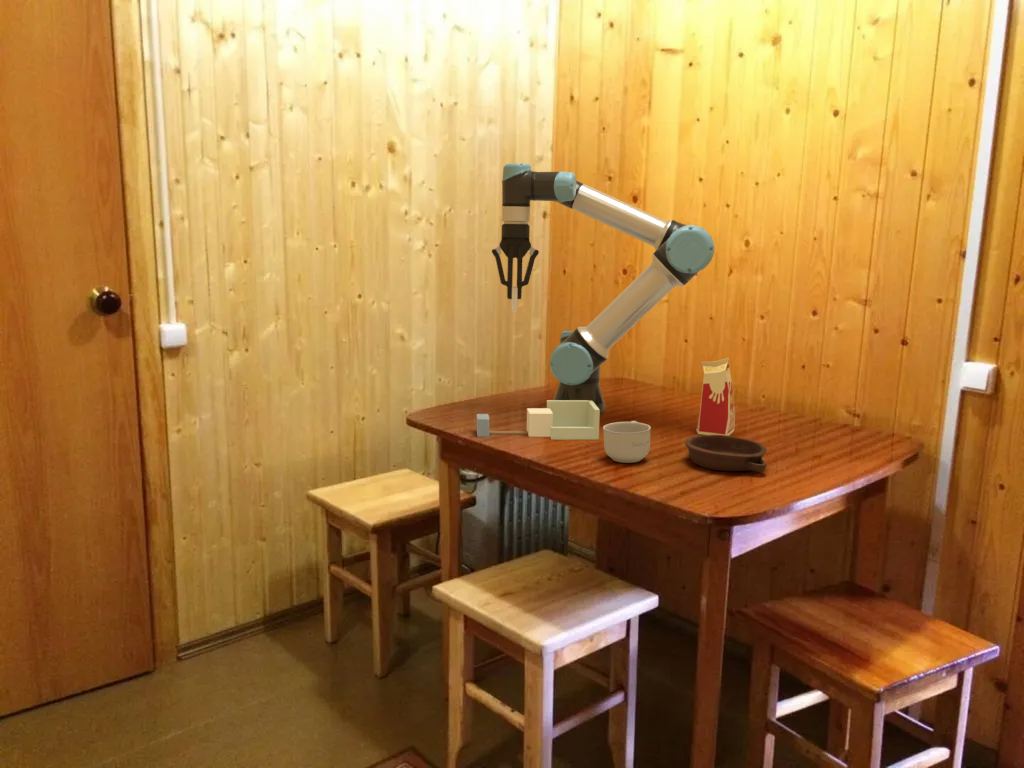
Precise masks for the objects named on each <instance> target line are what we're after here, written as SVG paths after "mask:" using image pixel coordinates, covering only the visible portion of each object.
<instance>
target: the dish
mask: <svg viewBox="0 0 1024 768" xmlns="http://www.w3.org/2000/svg"><path fill="white" fill-rule="evenodd" d="M684 444H685V446H686V447H687V450H688V454H689V456H690V458H691V460H692V462H693V463H694V464H696V465H698V466H700V467H702V468H705V469H708V470H713V471H722V472H745V471H753V472H758V473H762V472H765V471H766V467H767V462H766V461H764V460H763V459H762V458H763V456H764V455H765V454H766V453H767V450H768V449H767V447H766V446H765V445H764V444H762V443H760V442H758V441H756V440H754V439H753V440H752V439H749V438H744V437H739V436H733V435H729V436H727V435H702V434H698V435H694V436H691V437H689V438H687V439H686V440H685V441H684Z"/></svg>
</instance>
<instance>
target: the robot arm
mask: <svg viewBox="0 0 1024 768" xmlns="http://www.w3.org/2000/svg"><path fill="white" fill-rule="evenodd" d="M501 185H502V188H501V189H502V192H501V195H502V196H501V198H502V199H501V204H502V205H501V221H502V224H501V236H500V237H501V238H500V242H499V245H498V246H497V247H495V248H492V249H491V253H492V255H493V256H494V258H495V262H496V267H497V271H498V276H499V280H500V283H501V285H503V286H505V287H507V288H506V297H507V299H508V300H510V312H512V313H513V312H514V313H515V312H518V300H521V299H522V291H523V290H522V289H523V287H524V286H527V285H529V283H530V278H531V276H532V272H533V268H534V264H535V261H536V258H537V256H538V255H539V253H540V251H539V250H538V249H536V248H535V247H533V246H532V243H531V241H530V228H531V227H530V224H529V222H530V221H531V201H535V202H541V201H542V202H555V203H558V204H559V205H563V206H564V207H567V208H568V209H572V210H574V211H576V212H578V213H580V214H583V215H584V216H586V217H589V218H590V219H593V220H596V221H598V222H599V223H602V224H603V225H606V226H608V227H610V228H613V229H615V230H617V231H619V232H621V233H623V234H626V235H628V236H629V237H632V238H634V239H637V240H639V241H641V242H643V243H644V244H647V245H649V246H652V247H654V252H653V253H652V255H651V256H652V258H651V263H650V264H649V265H648V266H647V267H646V268H645V269H644V270H643V271H642V272H641V273H640V274H639V275H638V276H637V277H636V278H634V280H632V282H631V283H630V284H628V286H627V287H626V288H624V290H622V292H621V293H620V294H618V295H617V296H616V297H615V298H614V299H613V300H612V301H611V302H610V303H609V304H608V305H607V306H606V307H605V308H604V309H603V310H602V311H601V312H599V314H598V315H597V316H596V317H595V318H594V319H592V321H591V322H590V323H589V324H587V326H578V327H577V328H576V329H574V330H563V331H561V333H560V338H559V343H560V344H559V345H557V346H555V348H554V349H553V350H552V353H551V355H550V358H549V366H550V367H549V368H550V371H551V374H553V376H554V377H555V379H556V380H558V386H557V389H556V390H555V394H554V397H553V399H552V400H592V401H593V402H594V403H595V405H596V406H597V407H598V408H599V410H600V414H602V413H603V412H605V404H606V403H605V401H604V397H603V392H602V389H601V385H600V377H601V376H600V375H601V373H600V372H601V365H603V364H604V363H605V361H606V360H608V359H609V357H610V349H611V348H612V347H613V346H614V345H615V344H616V343H618V342H619V341H620V340H621V339H622V338H623V337H624V336H625V335H626V334H627V333H628V332H629V331H631V329H632V328H633V327H635V325H636V324H638V322H640V321H641V319H643V318H644V317H645V315H646V314H648V313H649V312H650V311H651V310H652V309H653V308H654V307H655V306H656V305H657V304H659V302H660V301H662V300H663V299H664V298H665V297H666V296H667V295H668V294H669V293H670V292H671V291H672V290H673V289H674V288H675V287H684V286H686V285H687V284H688V282H690V281H691V280H692V279H693V278H695V276H696V275H697V274H698V273H700V272H701V271H703V270H704V269H705V268H706V267H708V266H709V264H710V263H711V262H712V260H713V258H714V254H715V244H714V243H715V242H714V240H713V237H712V236H711V234H710V233H709V232H708V230H706V229H704V228H703V227H702V226H699V225H698V226H697V225H696V224H694V225H693V224H685V223H681V222H679V221H677V220H674V219H672V218H671V219H669V220H664V219H663V218H661V217H658V216H656V215H653V214H652V213H650V212H648V211H645V210H643V209H640V208H639V207H636V206H634V205H632V204H629V203H627V202H625V201H624V200H623V201H622V200H621V199H618V198H616V197H614V196H612V195H610V194H607V193H605V192H603V191H600V190H599V189H596V188H593V187H592V186H589V185H587V184H585V183H582V182H580V181H578V180H577V177H576V174H575V173H574V172H572V171H563V170H561V171H533V169H532V166H531V164H528V163H520V162H519V163H517V162H515V163H514V162H512V163H511V162H510V163H509V162H508V163H506V164H505V165H504V166H503V169H502V180H501ZM502 252H503V254H504V255H505V256H506V257H507V275H506V276H507V278H505V273H504V269H503V264H502V260H501V256H500V255H501V254H502ZM528 252H529V259H528V263H527V267H526V270H525V274H524V278H523V259H524V257H525V256H526V255H527V253H528ZM514 259H516V286H513V270H514V265H513V264H514V263H513V262H514ZM506 279H507V280H506Z"/></svg>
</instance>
